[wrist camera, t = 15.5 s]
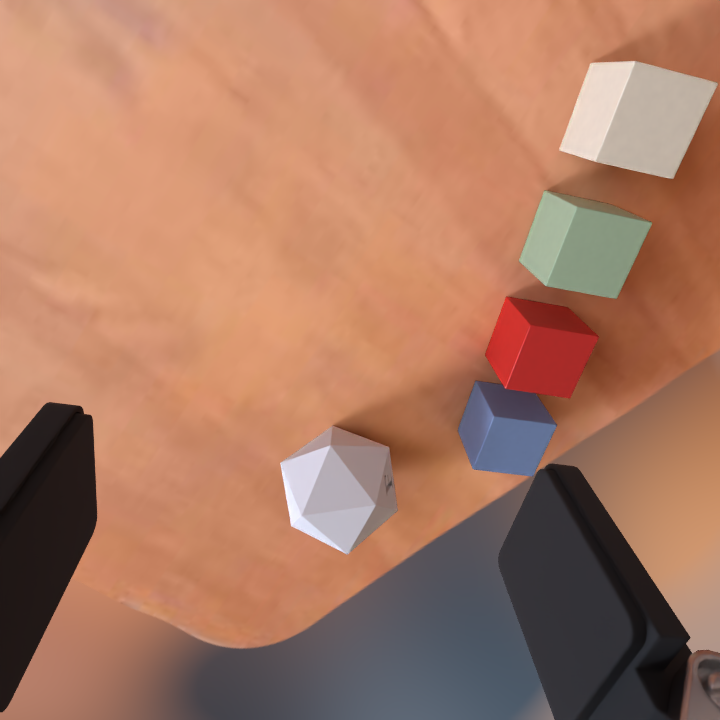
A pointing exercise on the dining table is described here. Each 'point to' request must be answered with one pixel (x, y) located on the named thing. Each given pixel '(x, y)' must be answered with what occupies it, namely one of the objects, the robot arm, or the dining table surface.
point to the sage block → (583, 244)
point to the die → (339, 488)
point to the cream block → (637, 116)
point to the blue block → (505, 429)
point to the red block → (539, 347)
